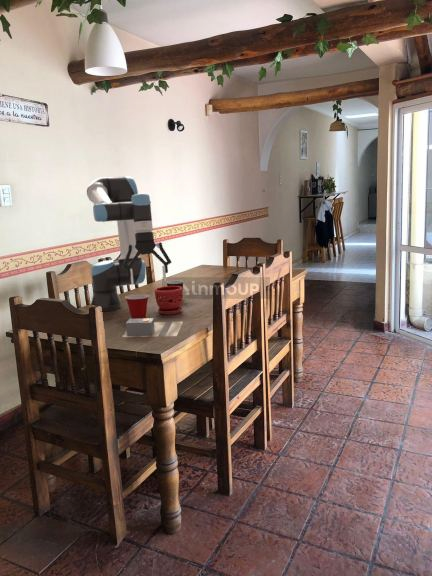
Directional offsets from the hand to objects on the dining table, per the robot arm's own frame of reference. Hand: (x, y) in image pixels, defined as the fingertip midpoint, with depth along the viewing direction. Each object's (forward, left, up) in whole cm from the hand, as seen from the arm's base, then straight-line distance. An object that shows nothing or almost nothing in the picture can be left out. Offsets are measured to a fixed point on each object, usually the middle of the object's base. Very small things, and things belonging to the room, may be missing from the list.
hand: (148, 282), depth 201 cm
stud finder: (-2, -12, -18) cm, 22 cm away
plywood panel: (+2, -6, -20) cm, 21 cm away
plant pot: (+4, +25, -20) cm, 32 cm away
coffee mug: (+4, +49, -20) cm, 53 cm away
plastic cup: (-8, +11, -20) cm, 24 cm away
